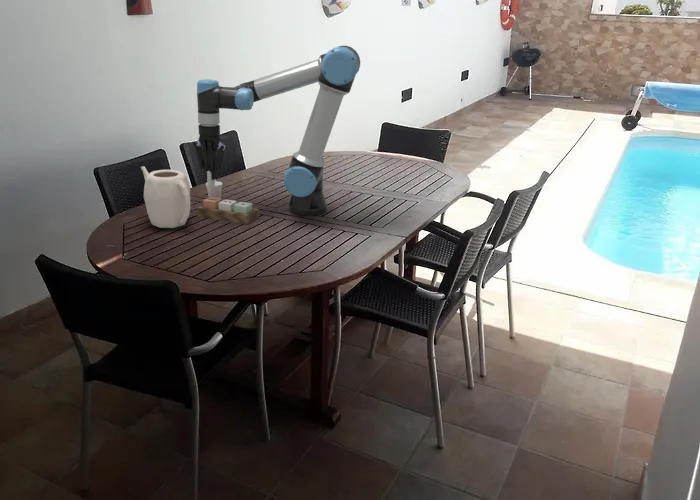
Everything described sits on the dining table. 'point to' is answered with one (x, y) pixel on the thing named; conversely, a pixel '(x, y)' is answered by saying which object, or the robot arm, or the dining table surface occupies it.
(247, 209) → the pale green block
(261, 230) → the dining table surface
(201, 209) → the button board
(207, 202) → the orange square block
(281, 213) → the dining table surface
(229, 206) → the white square block
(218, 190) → the smoothie
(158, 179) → the watering can
